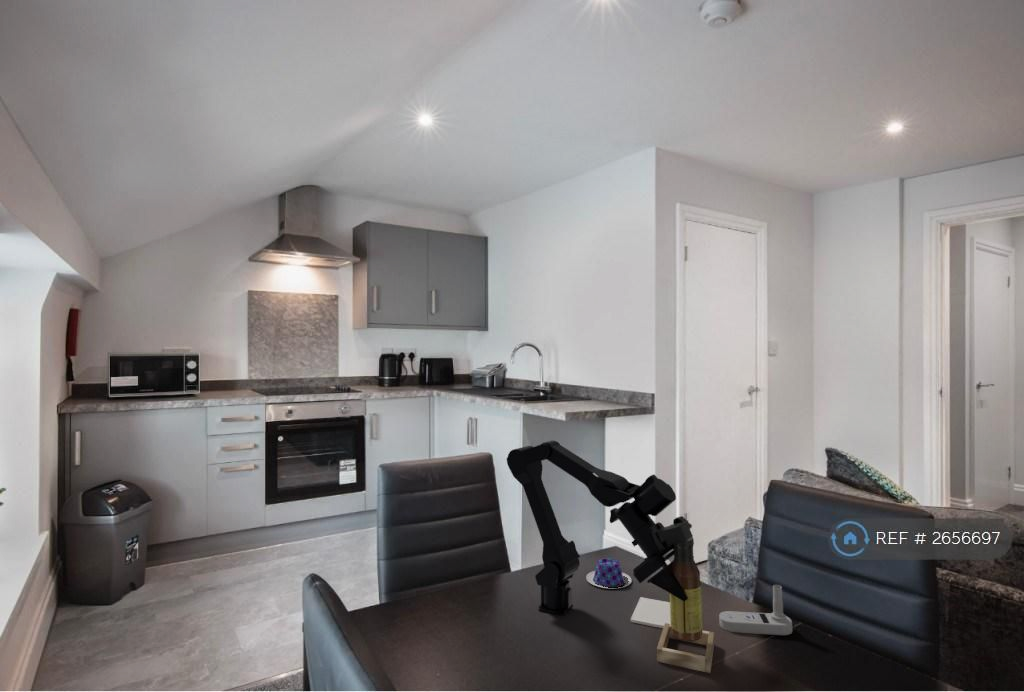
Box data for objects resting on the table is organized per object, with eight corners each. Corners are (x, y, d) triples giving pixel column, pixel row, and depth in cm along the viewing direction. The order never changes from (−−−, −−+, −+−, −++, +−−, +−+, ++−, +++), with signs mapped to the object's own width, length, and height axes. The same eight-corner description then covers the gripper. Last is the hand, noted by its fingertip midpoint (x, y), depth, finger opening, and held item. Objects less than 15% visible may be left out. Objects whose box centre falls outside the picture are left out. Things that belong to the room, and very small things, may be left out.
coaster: (630, 622, 125) (630, 619, 125) (640, 599, 136) (640, 597, 136) (685, 632, 120) (685, 630, 120) (691, 608, 131) (691, 606, 131)
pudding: (584, 571, 153) (584, 552, 153) (628, 572, 153) (628, 553, 153) (587, 590, 141) (587, 570, 141) (634, 592, 141) (634, 571, 141)
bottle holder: (656, 661, 109) (656, 648, 109) (665, 634, 119) (665, 623, 119) (710, 673, 105) (710, 660, 105) (714, 644, 115) (714, 632, 115)
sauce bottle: (704, 631, 114) (704, 534, 114) (700, 645, 108) (701, 544, 108) (671, 624, 116) (671, 530, 116) (666, 638, 111) (666, 539, 111)
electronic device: (716, 578, 126) (786, 581, 123) (717, 621, 126) (788, 625, 123) (720, 589, 121) (794, 592, 118) (722, 633, 121) (795, 638, 118)
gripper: (648, 517, 107) (704, 590, 100) (684, 496, 122) (736, 559, 115) (611, 548, 112) (663, 619, 105) (651, 524, 127) (698, 586, 120)
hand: (692, 594), depth 111 cm, fingers closed on sauce bottle, 6 cm apart
